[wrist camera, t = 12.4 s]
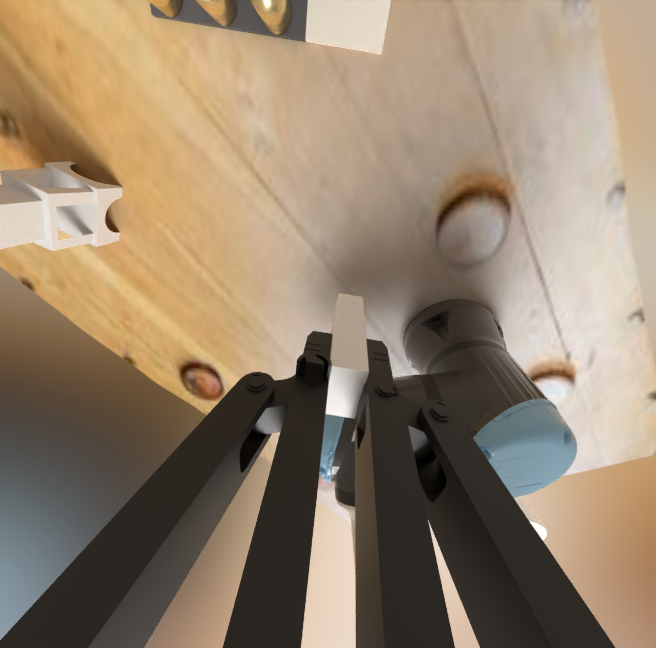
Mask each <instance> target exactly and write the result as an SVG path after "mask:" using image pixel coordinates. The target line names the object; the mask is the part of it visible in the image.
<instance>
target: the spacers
mask: <svg viewBox="0 0 656 648" xmlns="http://www.w3.org/2000/svg"><path fill="white" fill-rule="evenodd" d="M148 1H149V2H150V3H151V4H152V5H154V6H155V7H156V8H157V9H159V10H160V11H161V12H162V13H164V14H165V15H166V16H168V17H177V16H178V15H179V14H180V13H181V11H182V8H183V0H148ZM196 1H197V2H198V3H199V4H200V5H201V6H202V7H203V8H204V9H205V11H206V12H207V13H208V14H209V15H210V16H211V17H212V18H213V19H214V20H215V21H216V22H217V23H218V24H220V25H222V26H229V25H231V24H232V23H233V22H234V20H235V19H236V16H237V10H238V6H237V0H196ZM250 1H251V3H252V5H253V6H254V8H255V9H256V11H257V13H258V14H259V16H260V17H261V19H262V21H263V22H264V24H265V25H266V27H267V29H268V30H269V31H270V32H271V33H273V34H275V35H281V34H283V33H285V32H286V31H287V30H288V28H289V26H290V24H291V20H292V9H291V5H290V2H289V0H250Z"/></svg>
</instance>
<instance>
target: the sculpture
mask: <svg viewBox="0 0 656 648" xmlns="http://www.w3.org/2000/svg"><path fill="white" fill-rule="evenodd" d="M72 164H75V163H73V162H71V161H64V162H46V163H44V165H45V168H37V169H21V170H5V171H0V172H1V178H2V184H3V185H0V249H3V248H8V247H12V246H17V245H22V244H27V243H31V242H33V243H36V244H38V245H40V246H42V247H45V248H47V249H49V250H51V251H55V250H60V249H65V248H69V247H74V246H78V245H83V244H87V243H89V244H91V245H93V246H95V247H98V246H102V245H105V244H109V243H113V242H116V241H119V236H120V232H118V233H115V232H112V231H110V230H109V229H108V228H107V226H106V223H105V215H106V211H107V209H108V207H109V206H110V204H111V203H112V202H113V201H115V200H117V199H119V198H122V190H123V188H122V187H120V186H118V185H110V184H104V183H99V182H96V181H93V180H90V179H87V178H85V177H82V176H80V175H78V174H77V173H75V172H73V171H72V170H71V165H72ZM58 230H61V231H63V232H65V233H67V234H69V235H71V236H74V237H72V238H67V239H62V240H58Z"/></svg>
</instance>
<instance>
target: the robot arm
mask: <svg viewBox="0 0 656 648" xmlns="http://www.w3.org/2000/svg"><path fill="white" fill-rule="evenodd" d="M404 349H405V353H406V356H407V359H408V361H409V363H410V365H411V366H412V367H413V368H414V370H415V371H417V372H418V373H419V374H420V375H412V376H403V377H394V378H393V376H392V371H391V366H390V362H389V356H388V350H387V347H386V346H385V345H384V343H383V342H382V341H376V340H370V339H366V328H365V316H364V303H363V297H360V296H353V295H347V294H341V293H338V297H337V302H336V308H335V314H334V319H333V325H332V331H331V334H329V333H323V332H317V331H313V332H312V333H311V334H310V335H308V337H307V341H306V345H305V349H304V353H303V354H302V355H301V356H299V358H298V359H297V366H296V374H295V375H294V376H293V377H291V378H288V379H284V380H275V381H274V379H273V378H272V377H271V376H270V375H268V374H266V373H262V372H252V373H250V374H247V375H245V376H244V377H242V378H241V379H240V380H239V381H238V382H237V383H236V384H235V386H234V387H233V388H232V389H231V390H230V391H229V392H228V393H227V394H226V395H225V396H224V398H223V399H222V400H221V401H220V402H219V403H218V404H217V405H216V406H215V407H214V408H213V409H212V411H211V412H210V413H209V414H208V415H207V416H206V417H205V418H204V419H203V421H201V423H200V424H199V425H198V426H197V427H196V428H195V429H194V430H193V431H192V432H191V434H190V435H189V436H188V437H187V438H186V439H185V440H184V441H183V442H182V443H181V444H180V445H179V447H178V448H177V449H176V450H175V451H174V452H173V453H172V454H171V456H169V457H168V458H167V460H166V461H165V462H164V463H163V464H162V465H161V466H160V467H159V468H158V469H157V471H156V472H155V473H154V474H153V475H152V476H151V477H150V478H149V479H148V480H147V482H145V484H144V485H143V486H142V487H141V488H140V489H139V490H138V491H137V492H136V493H135V494H134V496H133V497H132V498H131V499H130V500H129V501H128V502H127V503H126V504H125V505H124V506H123V508H122V509H121V510H120V511H119V512H118V513H117V514H116V515H115V516H114V517H113V518H112V520H111V521H110V522H109V523H108V524H107V525H106V526H105V527H104V528H103V529H102V530H101V531H100V533H99V534H98V535H97V536H96V537H95V538H94V539H93V540H92V541H91V542H90V543H89V545H88V546H87V547H86V548H85V549H84V550H83V551H82V552H81V553H80V554H79V555H78V556H77V558H76V559H75V560H74V561H73V562H72V563H71V564H70V565H69V566H68V567H67V568H66V570H65V571H64V572H63V573H62V574H61V575H60V576H59V577H58V578H57V579H56V580H55V582H54V583H53V584H52V585H51V586H50V587H49V588H48V589H47V590H46V591H45V593H43V595H42V596H41V597H40V598H39V599H38V600H37V601H36V602H35V603H34V604H33V606H32V607H31V608H30V609H29V610H28V611H27V612H26V613H25V614H24V615H23V616H22V617H21V619H20V620H19V621H18V622H17V623H16V624H15V625H14V626H13V627H12V628H11V629H10V631H9V632H8V633H7V634H6V635H5V636H4V637H3V638H2V639H1V640H0V648H144V647H145V645H146V643H147V642H148V639H149V638H150V637H151V635H152V633H153V631H154V630H155V628H156V626H157V625H158V623H159V622H160V620H161V618H162V616H163V615H164V613H165V611H166V610H167V608H168V606H169V605H170V603H171V601H172V600H173V598H174V596H175V595H176V593H177V591H178V590H179V588H180V586H181V585H182V583H183V581H184V580H185V578H186V576H187V575H188V573H189V571H190V570H191V568H192V566H193V565H194V563H195V561H196V560H197V558H198V556H199V555H200V553H201V551H202V550H203V548H204V546H205V545H206V543H207V541H208V540H209V538H210V536H211V535H212V533H213V531H214V530H215V528H216V526H217V525H218V523H219V521H220V520H221V518H222V516H223V515H224V513H225V511H226V509H227V508H228V506H229V504H230V503H231V501H232V500H233V498H234V496H235V495H236V493H237V491H238V489H239V488H240V486H241V485H242V483H243V481H244V479H245V478H246V476H247V474H248V473H249V471H250V470H251V468H252V466H253V464H254V463H255V461H256V459H257V458H258V456H259V455H260V453H261V451H262V450H263V448H264V446H265V444H266V443H267V441H268V439H269V438H270V436H271V434H272V433H277V432H280V436H279V440H278V444H277V447H276V451H275V455H274V458H273V462H272V466H271V470H270V474H269V477H268V481H267V485H266V488H265V492H264V496H263V500H262V504H261V507H260V511H259V514H258V518H257V522H256V526H255V529H254V533H253V537H252V541H251V544H250V548H249V552H248V556H247V559H246V563H245V567H244V570H243V574H242V578H241V582H240V586H239V589H238V593H237V597H236V600H235V604H234V608H233V612H232V615H231V619H230V623H229V626H228V630H227V634H226V638H225V641H224V645H223V648H301V640H302V630H303V621H304V612H305V602H306V592H307V584H308V574H309V565H310V556H311V546H312V537H313V527H314V518H315V508H316V499H317V490H318V480H319V474H320V477H321V478H322V479H323V480H325V481H327V482H329V483H331V482H333V481H334V484H335V495H336V502H337V503H338V504H339V505H340V506H341V507H342V508H343V509H344V510H345V511H346V512H347V513H348V514H349V516H350V520H351V531H352V541H353V552H354V563H355V574H356V648H455V646H454V641H453V637H452V632H451V627H450V623H449V618H448V613H447V608H446V603H445V599H444V594H443V590H442V584H441V580H440V575H439V570H438V565H437V561H436V556H435V551H434V546H433V542H432V537H431V532H430V527H429V523H430V525H431V528H432V530H433V532H434V535H435V537H436V539H437V542H438V545H439V547H440V550H441V552H442V554H443V557H444V560H445V562H446V565H447V567H448V569H449V571H450V574H451V577H452V579H453V582H454V584H455V587H456V589H457V592H458V594H459V597H460V599H461V601H462V604H463V606H464V609H465V611H466V614H467V616H468V619H469V621H470V624H471V626H472V628H473V631H474V634H475V636H476V639H477V641H478V643H479V646H480V648H615V647H614V645H613V644H612V642H611V641H610V639H609V638H608V636H607V635H606V633H605V632H604V631H603V629H602V627H601V626H600V624H599V623H598V621H597V620H596V619H595V617H594V616H593V614H592V613H591V611H590V610H589V608H588V607H587V605H586V604H585V602H584V601H583V599H582V598H581V596H580V595H579V593H578V592H577V591H576V589H575V588H574V586H573V585H572V583H571V582H570V580H569V579H568V577H567V576H566V575H565V573H564V571H563V570H562V569H561V567H560V566H559V564H558V563H557V561H556V560H555V558H554V557H553V555H552V554H551V552H550V551H549V549H548V548H547V546H546V545H545V544H544V542H543V540H542V539H541V537H540V536H539V535H538V533H537V532H536V530H535V529H534V527H533V526H532V524H531V523H530V521H529V520H528V518H527V517H526V515H525V514H524V512H523V511H522V510H521V508H520V507H519V505H518V504H517V502H516V501H515V499H514V498H515V497H520V496H523V495H527V494H530V493H533V492H535V491H537V490H540V489H542V488H544V487H546V486H548V485H549V484H551V483H553V482H554V481H556V480H557V479H559V478H560V477H561V476H562V475H563V474H564V473H565V472H566V471H567V470H568V469H569V468H570V466H571V465H572V463H573V462H574V459H575V457H576V453H577V442H576V439H575V436H574V434H573V432H572V431H571V429H570V428H569V426H568V425H567V424H566V422H565V421H564V419H563V418H562V416H561V415H560V413H559V412H558V410H557V408H556V406H555V405H554V404H553V403H552V402H551V401H549V400H548V399H547V398H546V397H545V395H544V394H543V393H542V392H541V391H540V389H539V388H538V387H537V386H536V385H535V384H534V382H533V381H532V380H531V379H530V378H529V377H528V375H527V374H526V373H525V372H524V371H523V369H522V368H521V367H520V366H519V365H518V364H517V362H516V361H515V360H514V359H513V358H512V357H511V355H510V354H509V353H508V352H507V349H506V345H505V341H504V339H503V332H502V328H501V326H500V324H499V322H498V320H497V319H496V318H495V317H494V316H493V315H492V314H491V312H490V311H489V310H488V309H486V308H485V307H484V306H482V305H480V304H478V303H475V302H472V301H468V300H449V301H444V302H441V303H438V304H435V305H433V306H430V307H429V308H427V309H425V310H424V311H422V312H421V313H420V314H418V315H417V316H416V317H415V318H414V319H413V320H412V322H411V323H410V325H409V326H408V328H407V330H406V332H405V336H404ZM428 520H429V523H428Z"/></svg>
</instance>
